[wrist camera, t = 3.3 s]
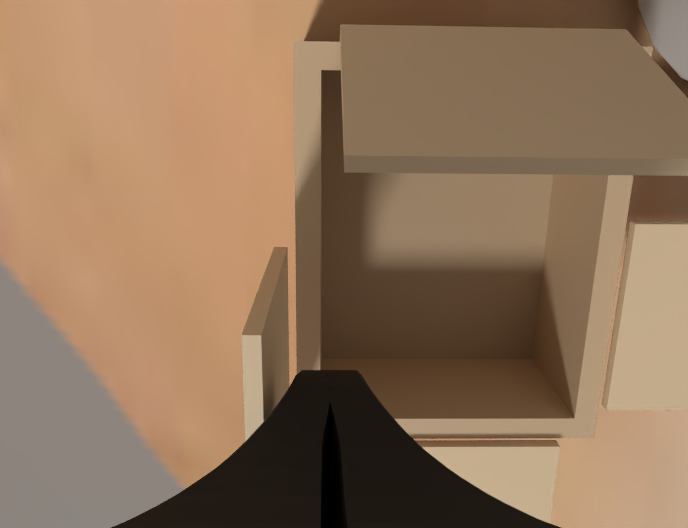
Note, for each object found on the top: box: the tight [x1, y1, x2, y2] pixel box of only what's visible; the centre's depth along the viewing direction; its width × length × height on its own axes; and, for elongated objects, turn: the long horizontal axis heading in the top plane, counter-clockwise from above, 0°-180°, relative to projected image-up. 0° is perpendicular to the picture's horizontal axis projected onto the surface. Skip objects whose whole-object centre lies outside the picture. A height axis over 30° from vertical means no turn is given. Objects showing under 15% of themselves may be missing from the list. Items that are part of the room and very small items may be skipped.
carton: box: [294, 41, 688, 523], centre depth 18 cm, size 15×12×4 cm
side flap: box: [242, 247, 289, 440], centre depth 13 cm, size 5×5×1 cm
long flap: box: [340, 24, 688, 176], centre depth 11 cm, size 5×6×1 cm
